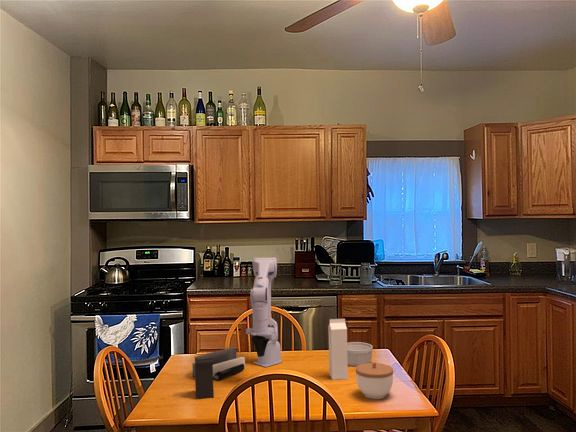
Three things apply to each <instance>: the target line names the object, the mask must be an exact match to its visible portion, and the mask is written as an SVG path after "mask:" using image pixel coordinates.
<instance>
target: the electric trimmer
mask: <svg viewBox="0 0 576 432" xmlns="http://www.w3.org/2000/svg"><path fill="white" fill-rule="evenodd" d="M244 370H245V368H244V364H240V365H237V366H234V367H231V368H229V369H226V370H224V371H221V372H220V371H219V372H217V373H215V375H214V376H213V381H215V382H221V381H222V380H223V379H226V378H228V377H229V376H235V375H237V374H239V373H241V372H243V371H244Z"/></svg>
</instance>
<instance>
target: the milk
mask: <svg viewBox="0 0 576 432" xmlns="http://www.w3.org/2000/svg"><path fill="white" fill-rule="evenodd" d="M327 327H328V329H327V330H328V367H329V368H328V369H329V371H328V372H329V373H328V374H329V376H330V379H331V380H332V381H335V380H338V379H340V380H348V379H349V371H348V370H349V369H348V367H349V365H348V362H347V343H348V327H347V324H346V318H335V319H334V318H330V319H329V324H328V325H327Z"/></svg>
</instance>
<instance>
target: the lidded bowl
mask: <svg viewBox="0 0 576 432" xmlns="http://www.w3.org/2000/svg"><path fill="white" fill-rule="evenodd" d="M355 374H356V375H355V377H356V383H357V387H358V389H359V391H361V393H362V394H363V395H364V397H366V398H367V399H373V400H374V399H375V400H378V399H379V400H380V399H384V398H386V396H387V394H388V393H389V392H391V389H392V388H393V382H394V368H393V367H392V366H390V365H387V364H385V363H379V362H374V361H373V362H370V363H365V364H361V365H358V366H355Z"/></svg>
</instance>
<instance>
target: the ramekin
mask: <svg viewBox="0 0 576 432" xmlns="http://www.w3.org/2000/svg"><path fill="white" fill-rule="evenodd" d="M372 355H373V345H372V344H370V343H367V342H361V341H350V342H347V362H348V367H349V366H350V367H357V366H358V365H361V364H365V363H372V358H373V357H372Z"/></svg>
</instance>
